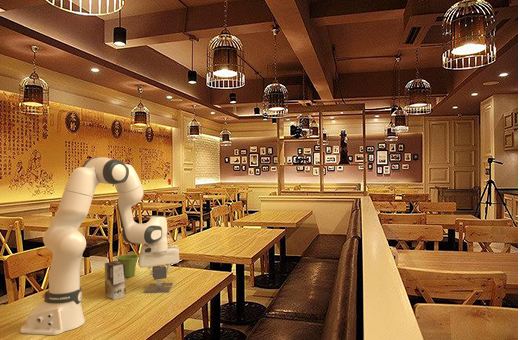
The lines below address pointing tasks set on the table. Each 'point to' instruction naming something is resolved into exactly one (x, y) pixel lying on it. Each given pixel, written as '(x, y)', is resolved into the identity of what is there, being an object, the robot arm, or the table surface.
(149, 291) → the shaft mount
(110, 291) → the coffee box
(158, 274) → the grey drawer unit
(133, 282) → the table surface
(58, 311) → the robot arm
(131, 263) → the plant pot
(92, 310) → the table surface
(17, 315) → the table surface
